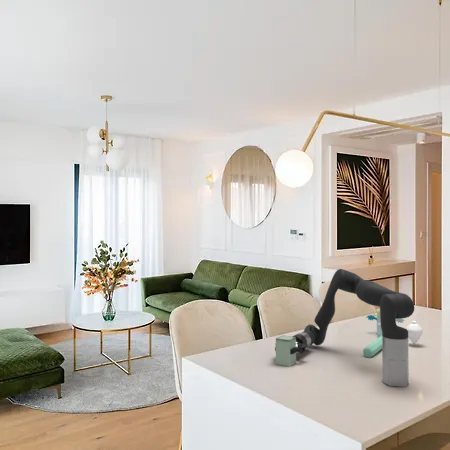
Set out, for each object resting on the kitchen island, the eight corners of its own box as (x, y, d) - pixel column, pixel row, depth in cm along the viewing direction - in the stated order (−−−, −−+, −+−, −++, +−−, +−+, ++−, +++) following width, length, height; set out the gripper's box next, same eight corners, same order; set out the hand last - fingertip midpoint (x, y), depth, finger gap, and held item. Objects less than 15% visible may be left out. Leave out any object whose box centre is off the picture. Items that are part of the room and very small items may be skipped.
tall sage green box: (296, 362, 202) (295, 337, 202) (289, 366, 196) (289, 340, 196) (282, 360, 205) (282, 335, 205) (275, 364, 200) (275, 338, 200)
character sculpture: (363, 335, 249) (363, 310, 249) (368, 331, 259) (368, 306, 259) (403, 339, 239) (403, 313, 239) (406, 335, 249) (406, 309, 249)
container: (370, 345, 207) (387, 332, 228) (358, 348, 210) (375, 335, 231) (375, 358, 206) (391, 344, 227) (363, 361, 209) (380, 347, 230)
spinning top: (408, 342, 233) (408, 318, 233) (425, 345, 228) (424, 320, 228) (403, 346, 227) (403, 321, 227) (420, 348, 222) (419, 323, 222)
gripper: (285, 331, 217) (268, 339, 203) (314, 335, 209) (299, 344, 195) (285, 348, 217) (268, 357, 203) (314, 352, 209) (299, 362, 195)
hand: (283, 350), depth 199 cm, fingers closed on tall sage green box, 6 cm apart
